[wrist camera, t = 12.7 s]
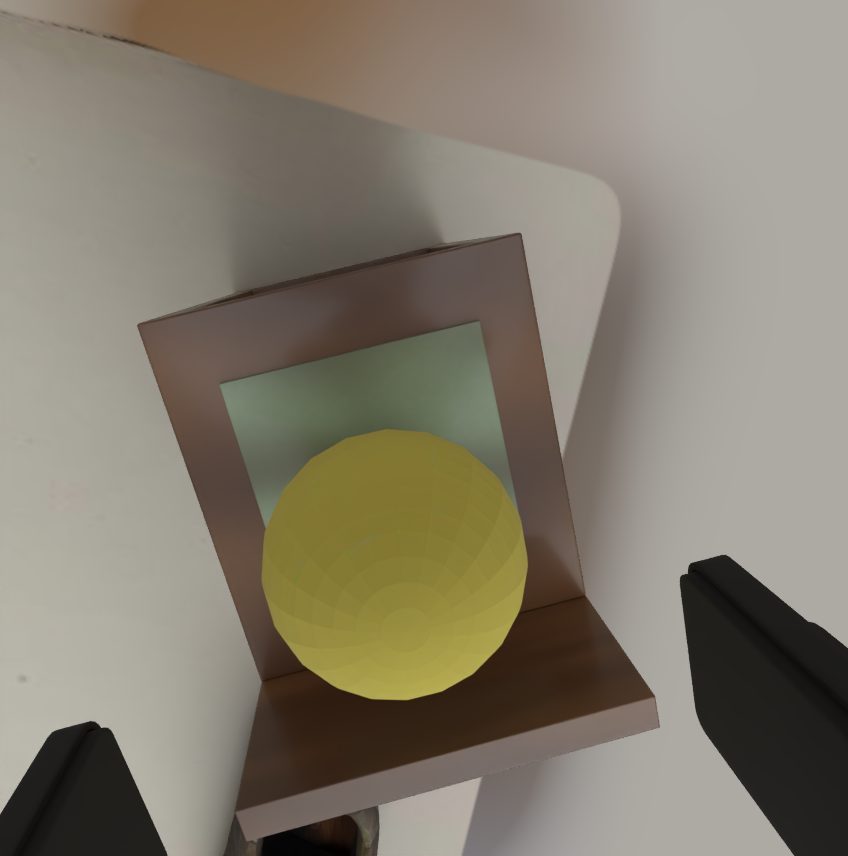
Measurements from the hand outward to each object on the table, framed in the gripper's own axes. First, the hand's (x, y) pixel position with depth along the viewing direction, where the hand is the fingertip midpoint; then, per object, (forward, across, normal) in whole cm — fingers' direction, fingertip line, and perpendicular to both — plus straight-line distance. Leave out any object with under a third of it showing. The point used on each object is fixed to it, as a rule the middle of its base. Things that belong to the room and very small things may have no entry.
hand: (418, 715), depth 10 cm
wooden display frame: (+31, 0, +1) cm, 31 cm away
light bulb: (+13, 0, +1) cm, 13 cm away
